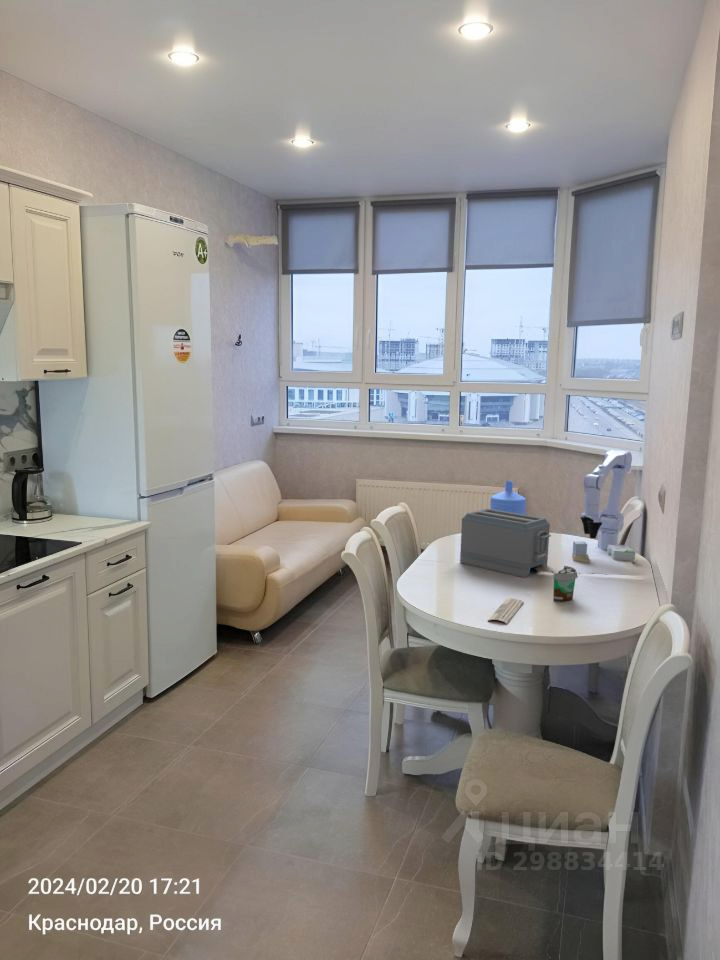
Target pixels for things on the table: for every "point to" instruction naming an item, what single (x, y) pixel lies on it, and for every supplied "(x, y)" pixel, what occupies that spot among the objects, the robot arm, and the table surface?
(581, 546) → the block
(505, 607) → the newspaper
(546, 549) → the toaster
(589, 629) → the table surface
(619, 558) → the ink box
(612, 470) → the robot arm
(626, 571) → the table surface
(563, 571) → the food container
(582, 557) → the tower top
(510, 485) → the water jug
